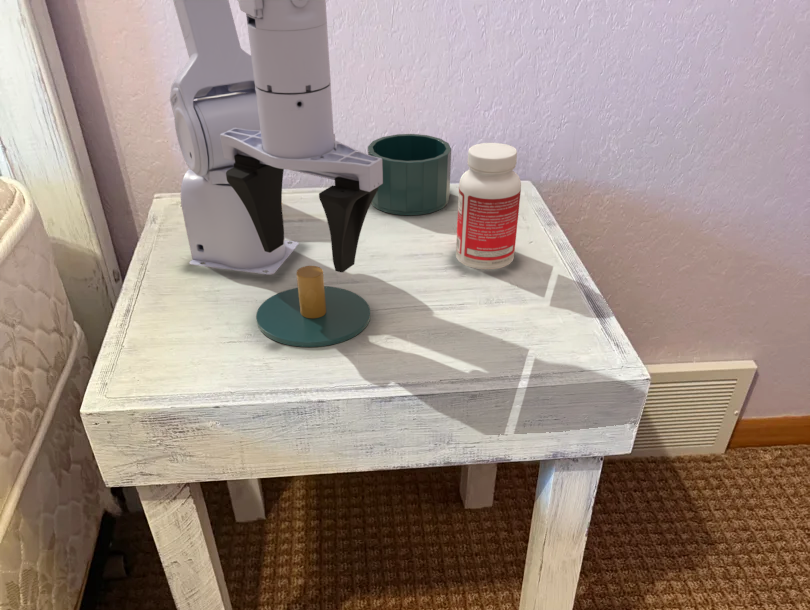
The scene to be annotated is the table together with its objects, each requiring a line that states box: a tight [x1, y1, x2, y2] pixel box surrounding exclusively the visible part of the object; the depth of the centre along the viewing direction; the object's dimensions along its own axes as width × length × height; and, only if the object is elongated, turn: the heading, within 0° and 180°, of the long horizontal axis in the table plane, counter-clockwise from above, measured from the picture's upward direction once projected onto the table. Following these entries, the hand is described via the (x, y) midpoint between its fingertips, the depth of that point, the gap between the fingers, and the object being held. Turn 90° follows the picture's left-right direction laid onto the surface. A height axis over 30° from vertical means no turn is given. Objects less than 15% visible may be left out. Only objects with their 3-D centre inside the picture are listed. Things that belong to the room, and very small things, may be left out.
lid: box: [255, 265, 371, 348], centre depth 70 cm, size 11×11×5 cm
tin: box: [367, 133, 452, 216], centre depth 91 cm, size 10×10×6 cm
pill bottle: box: [455, 142, 522, 270], centre depth 77 cm, size 6×6×11 cm
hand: (308, 257), depth 67 cm, fingers open, 7 cm apart
